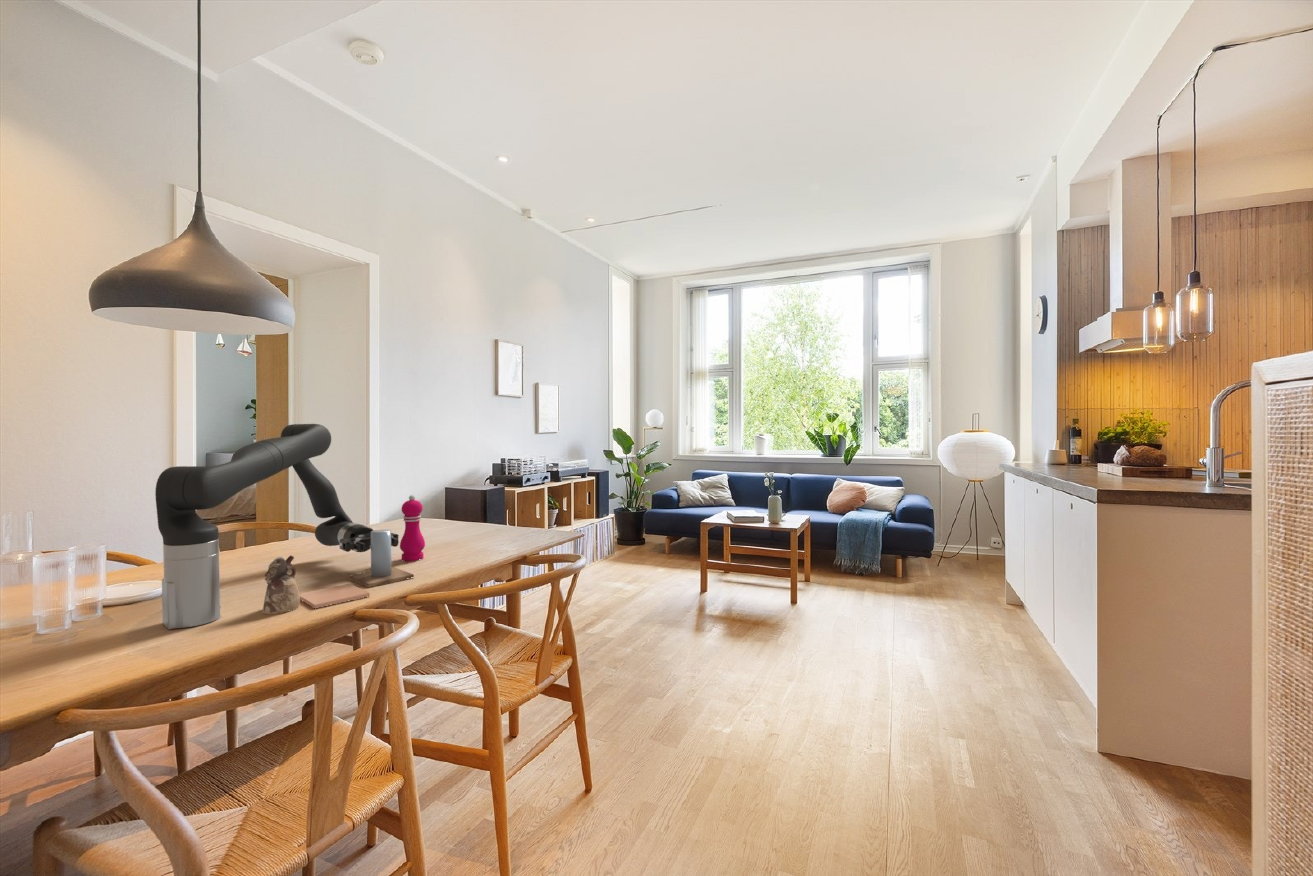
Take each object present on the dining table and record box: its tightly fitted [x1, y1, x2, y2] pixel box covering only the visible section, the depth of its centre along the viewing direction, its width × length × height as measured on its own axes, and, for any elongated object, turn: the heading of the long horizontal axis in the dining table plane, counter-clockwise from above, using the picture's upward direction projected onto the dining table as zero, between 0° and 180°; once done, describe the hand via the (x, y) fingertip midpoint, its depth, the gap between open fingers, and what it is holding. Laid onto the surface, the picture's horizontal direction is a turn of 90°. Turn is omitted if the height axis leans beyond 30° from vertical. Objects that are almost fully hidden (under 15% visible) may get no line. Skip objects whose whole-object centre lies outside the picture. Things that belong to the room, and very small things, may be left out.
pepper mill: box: [399, 494, 426, 562], centre depth 177 cm, size 7×7×20 cm
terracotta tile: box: [299, 583, 371, 610], centre depth 139 cm, size 12×12×1 cm
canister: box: [370, 529, 392, 578], centre depth 155 cm, size 5×5×12 cm
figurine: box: [262, 554, 301, 615], centre depth 130 cm, size 7×7×12 cm
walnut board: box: [349, 566, 415, 588], centre depth 155 cm, size 12×12×1 cm
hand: (380, 545), depth 155 cm, fingers open, 8 cm apart
